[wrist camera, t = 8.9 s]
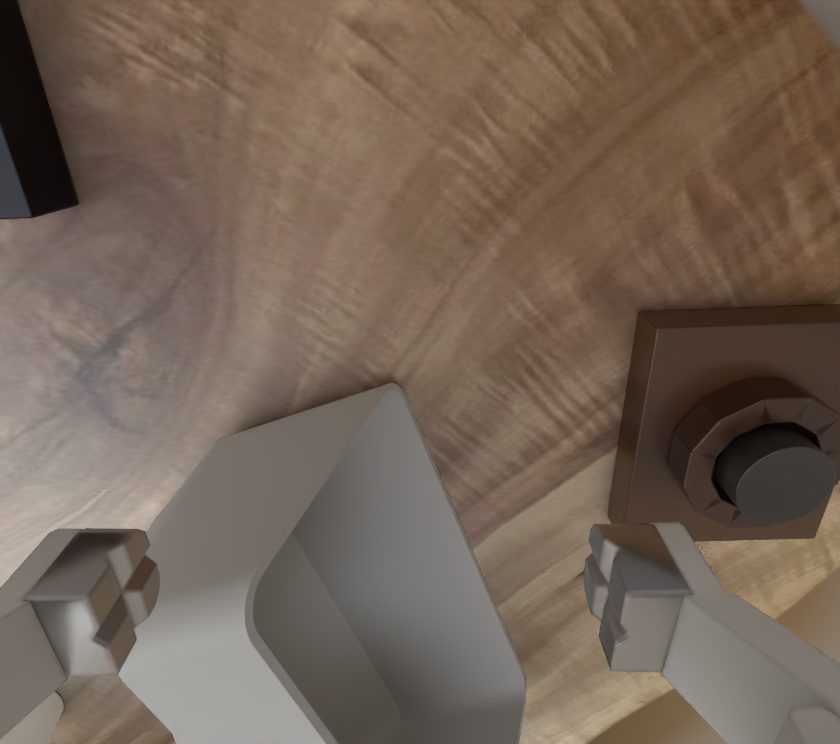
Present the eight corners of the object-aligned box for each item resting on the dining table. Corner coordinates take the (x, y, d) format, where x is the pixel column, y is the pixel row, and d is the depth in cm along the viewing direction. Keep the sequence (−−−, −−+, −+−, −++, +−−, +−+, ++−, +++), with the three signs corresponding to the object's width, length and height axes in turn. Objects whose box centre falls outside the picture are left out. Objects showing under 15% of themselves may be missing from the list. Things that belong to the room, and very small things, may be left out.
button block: (638, 310, 24) (675, 345, 21) (859, 303, 24) (935, 336, 21) (606, 515, 30) (632, 571, 26) (788, 510, 30) (839, 565, 26)
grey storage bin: (111, 463, 28) (-93, 697, 17) (395, 370, 26) (375, 571, 15) (313, 731, 39) (268, 987, 27) (528, 683, 36) (577, 941, 25)
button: (725, 425, 23) (748, 448, 21) (820, 422, 23) (849, 445, 21) (706, 499, 25) (726, 525, 23) (794, 496, 25) (820, 523, 23)
